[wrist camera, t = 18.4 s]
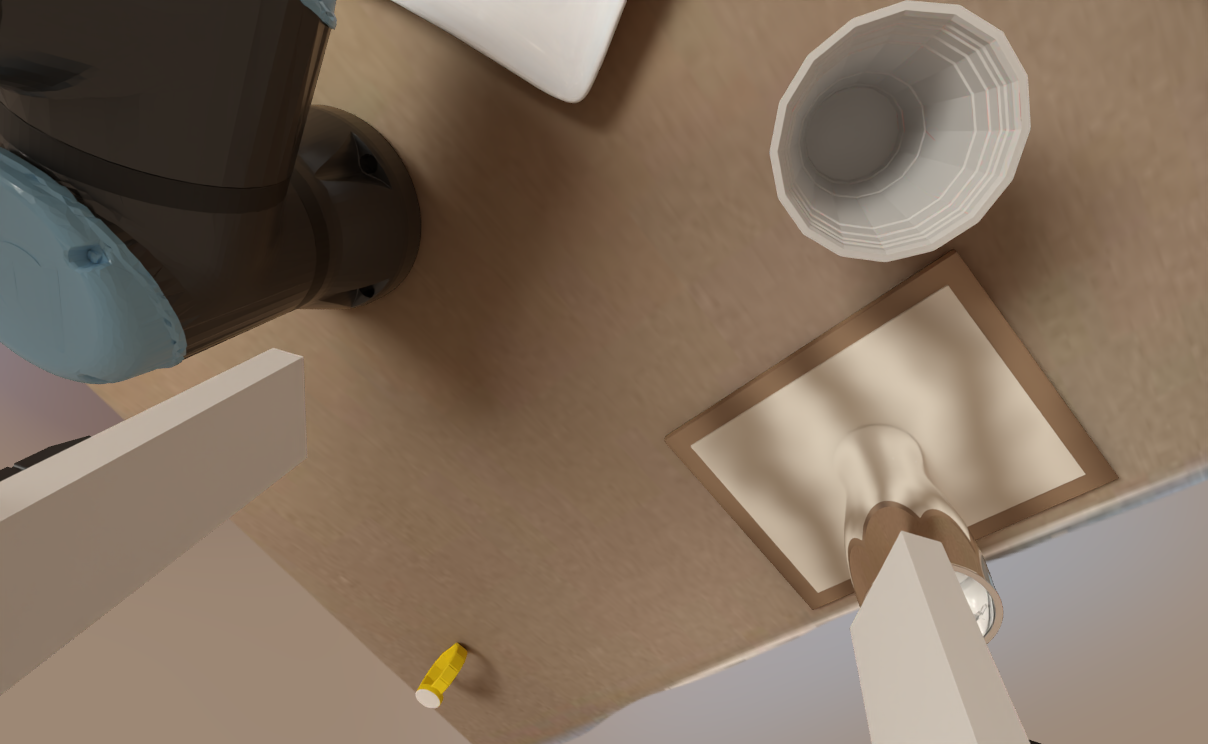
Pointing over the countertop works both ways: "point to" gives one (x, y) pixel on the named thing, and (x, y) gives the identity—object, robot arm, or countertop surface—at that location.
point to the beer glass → (905, 516)
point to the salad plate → (533, 37)
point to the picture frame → (894, 398)
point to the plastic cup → (900, 131)
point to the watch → (441, 676)
